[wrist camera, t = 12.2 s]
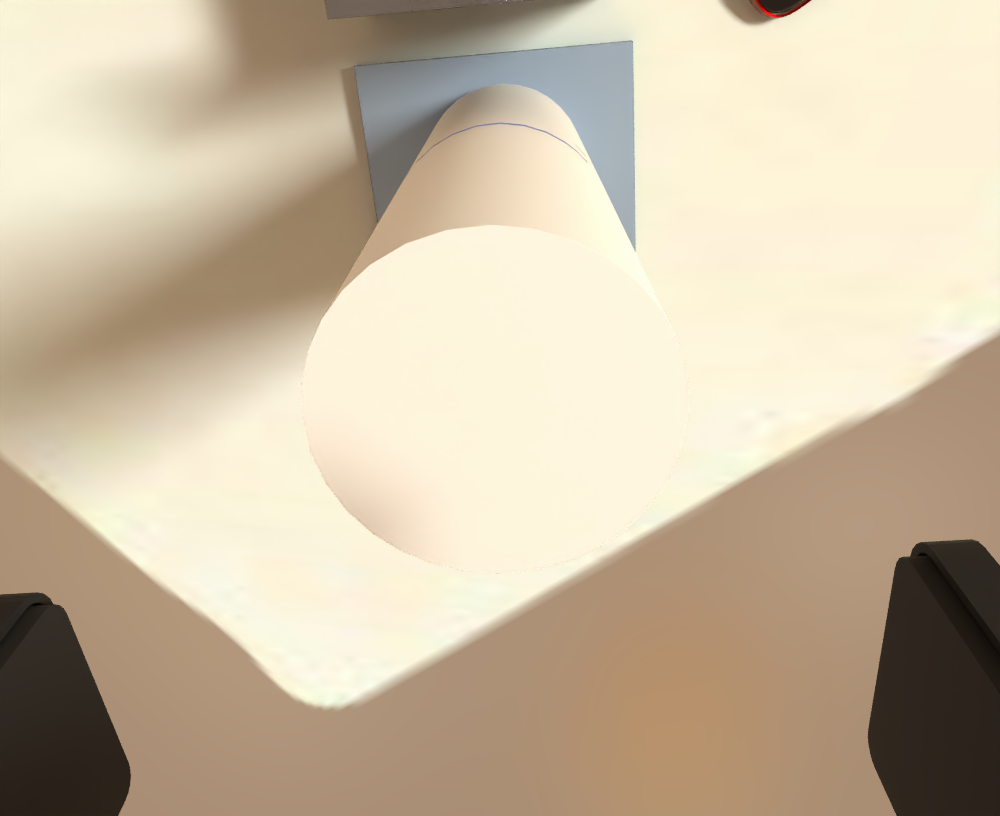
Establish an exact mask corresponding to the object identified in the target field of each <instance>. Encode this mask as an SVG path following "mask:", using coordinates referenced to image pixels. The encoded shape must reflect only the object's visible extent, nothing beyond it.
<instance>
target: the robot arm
mask: <svg viewBox="0 0 1000 816" xmlns="http://www.w3.org/2000/svg"><path fill="white" fill-rule="evenodd" d="M868 743H869V749H870V754H871V758H872V761H873V764H874V767H875V769H876V771H877V774H878V776H879V778H880V780H881V782H882V785H883V787H884V789H885V791H886V793H887V795H888V798H889V800H890V802H891V804H892V806H893V809H894V811H895V813H896V815H897V816H1000V565H999V564H998V563H997V562H996V560H995V559H994V558H993V557H992V556H991V555H990V553H989V552H988V551H987V550H986V548H985V547H984V546H983V545H981V544H980V543H979V542H978V541H975V540H972V539H971V540H954V541H938V542H937V541H936V542H921V543H918V544H916V545H915V547H914V548H913V549H912V553H911V556H910V557H901V558H899V560H898V561H897V563H896V567H895V571H894V577H893V584H892V590H891V596H890V602H889V608H888V614H887V620H886V626H885V632H884V639H883V644H882V651H881V656H880V662H879V669H878V674H877V680H876V686H875V693H874V699H873V705H872V711H871V717H870V723H869V729H868ZM130 779H131V774H130V766H129V763H128V760H127V758H126V755H125V753H124V750H123V748H122V746H121V743H120V741H119V739H118V736H117V734H116V731H115V729H114V726H113V724H112V722H111V719H110V717H109V714H108V712H107V709H106V707H105V705H104V702H103V700H102V697H101V695H100V693H99V690H98V688H97V685H96V683H95V680H94V678H93V676H92V673H91V671H90V668H89V666H88V664H87V661H86V659H85V656H84V654H83V652H82V649H81V647H80V644H79V642H78V640H77V637H76V635H75V632H74V630H73V627H72V625H71V622H70V620H69V618H68V615H67V613H66V612H65V610H64V608H62V607H61V606H60V605H55V604H53V603H52V601H51V599H50V598H49V597H47V596H46V595H45V594H42V593H20V594H3V595H0V816H118V815H119V812H120V810H121V808H122V806H123V804H124V802H125V800H126V797H127V794H128V791H129V787H130Z"/></svg>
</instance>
